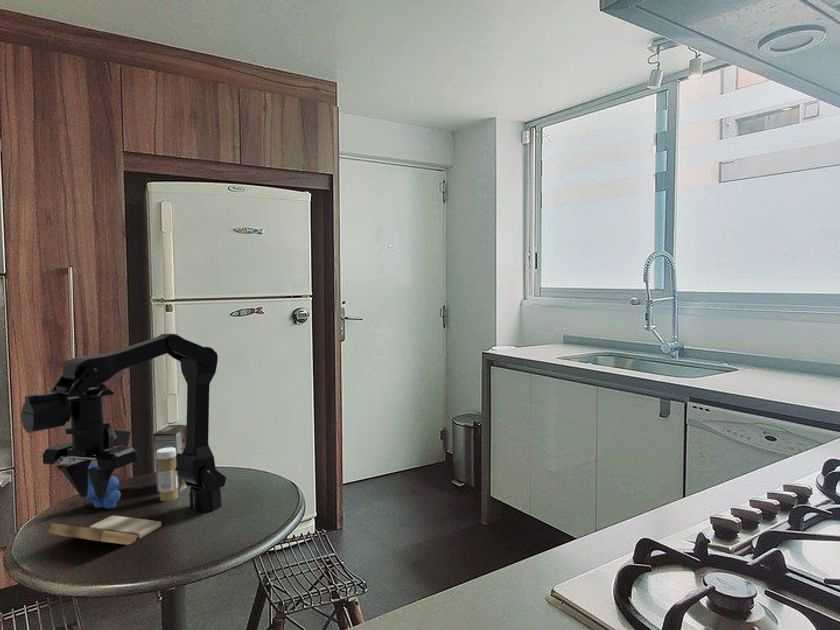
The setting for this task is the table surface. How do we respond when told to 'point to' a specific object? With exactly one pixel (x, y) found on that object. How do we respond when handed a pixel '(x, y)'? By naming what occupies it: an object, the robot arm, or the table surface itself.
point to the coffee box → (171, 438)
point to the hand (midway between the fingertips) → (92, 497)
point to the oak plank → (91, 534)
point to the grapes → (110, 495)
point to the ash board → (127, 525)
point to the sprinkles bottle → (167, 474)
